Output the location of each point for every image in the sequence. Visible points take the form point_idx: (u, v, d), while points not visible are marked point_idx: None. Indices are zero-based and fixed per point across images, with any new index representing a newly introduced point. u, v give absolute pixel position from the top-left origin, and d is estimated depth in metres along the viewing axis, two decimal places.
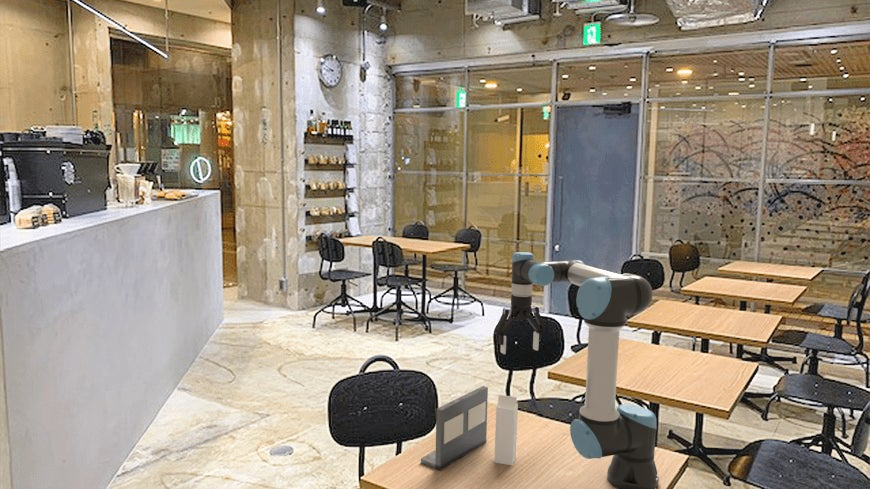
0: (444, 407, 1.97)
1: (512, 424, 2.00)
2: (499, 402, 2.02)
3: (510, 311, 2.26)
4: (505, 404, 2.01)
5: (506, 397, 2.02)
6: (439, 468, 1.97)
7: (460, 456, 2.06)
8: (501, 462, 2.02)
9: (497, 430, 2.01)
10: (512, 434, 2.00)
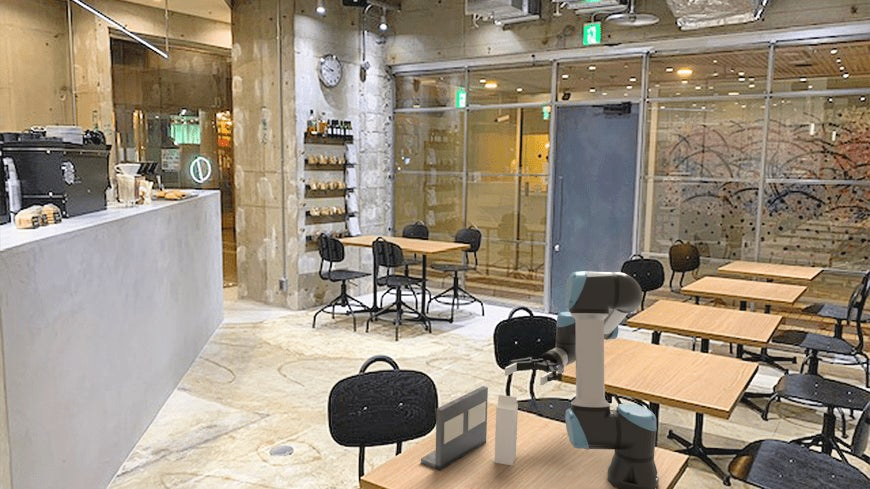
0: (444, 407, 1.97)
1: (512, 424, 2.00)
2: (499, 402, 2.02)
3: None
4: (505, 404, 2.01)
5: (506, 397, 2.02)
6: (439, 468, 1.97)
7: (460, 456, 2.06)
8: (501, 462, 2.02)
9: (497, 430, 2.01)
10: (512, 434, 2.00)
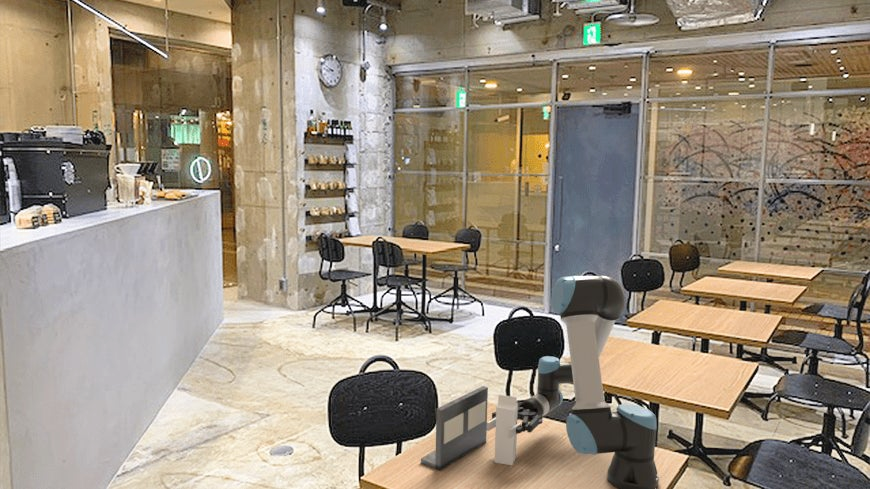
0: (444, 407, 1.97)
1: (512, 424, 2.00)
2: (499, 402, 2.02)
3: None
4: (505, 404, 2.01)
5: (506, 397, 2.02)
6: (439, 468, 1.97)
7: (460, 456, 2.06)
8: (501, 462, 2.02)
9: (497, 430, 2.01)
10: None
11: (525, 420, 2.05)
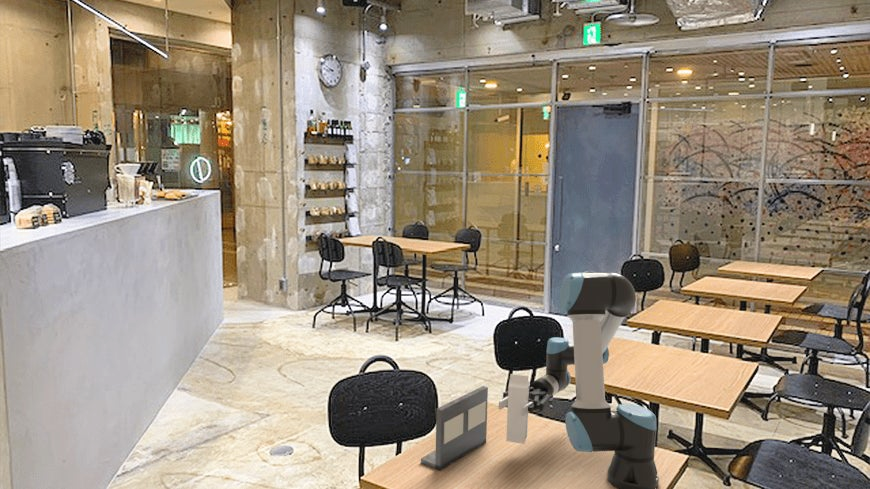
0: (444, 407, 1.97)
1: (524, 402, 2.02)
2: (511, 381, 2.04)
3: None
4: (517, 383, 2.03)
5: (518, 376, 2.04)
6: (439, 468, 1.97)
7: (460, 456, 2.06)
8: (513, 440, 2.05)
9: (509, 409, 2.04)
10: None
11: (536, 399, 2.07)
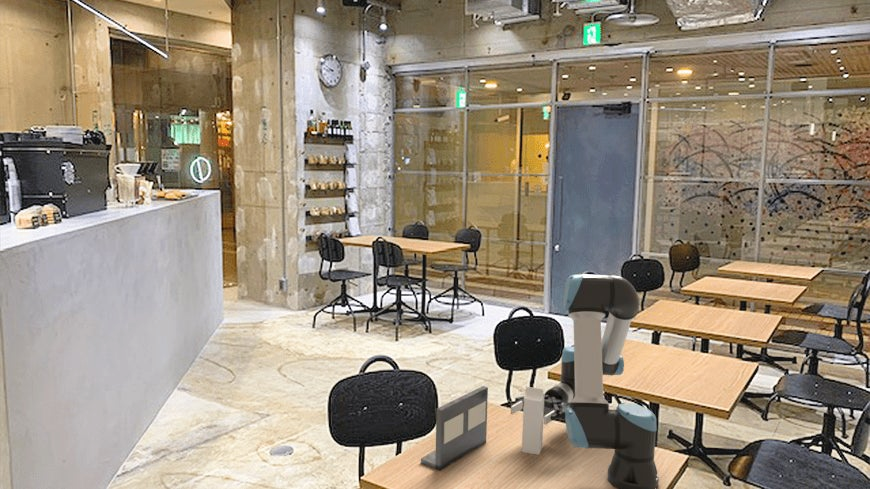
0: (444, 407, 1.97)
1: (539, 415, 2.07)
2: (526, 394, 2.10)
3: None
4: (532, 396, 2.09)
5: (533, 389, 2.10)
6: (439, 468, 1.97)
7: (460, 456, 2.06)
8: (528, 451, 2.10)
9: (524, 420, 2.09)
10: (539, 424, 2.08)
11: (557, 407, 2.12)
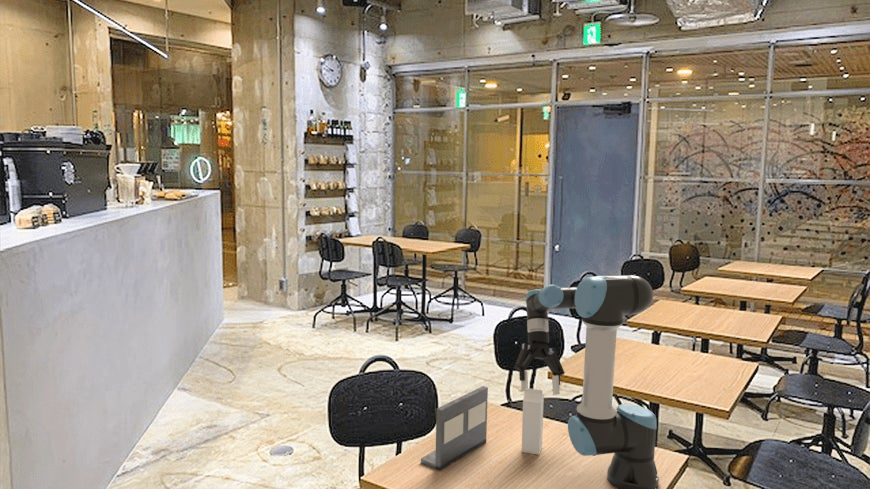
0: (444, 407, 1.97)
1: (538, 416, 2.06)
2: (525, 395, 2.08)
3: (529, 346, 2.20)
4: (531, 397, 2.07)
5: (532, 390, 2.08)
6: (439, 468, 1.97)
7: (460, 456, 2.06)
8: (528, 451, 2.10)
9: (524, 422, 2.08)
10: (539, 425, 2.07)
11: (555, 367, 2.22)
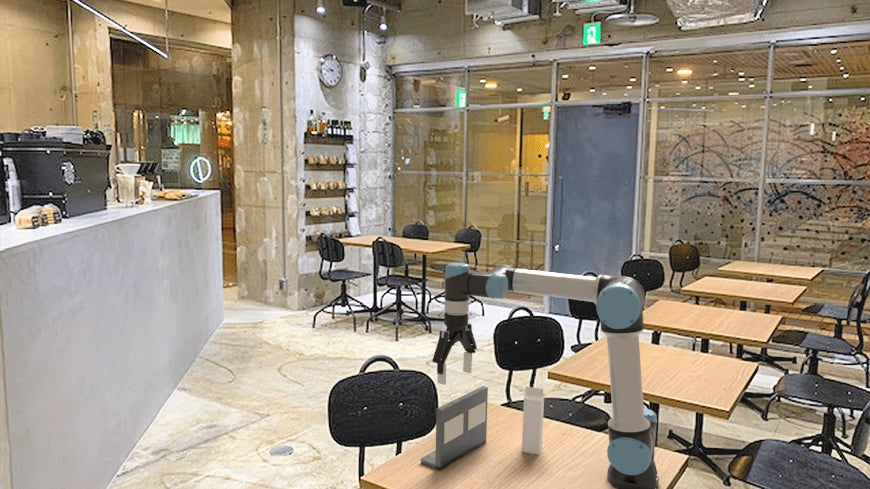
0: (444, 407, 1.97)
1: (539, 415, 2.07)
2: (526, 393, 2.10)
3: (448, 333, 1.93)
4: (532, 396, 2.09)
5: (533, 389, 2.10)
6: (439, 468, 1.97)
7: (460, 456, 2.06)
8: (528, 451, 2.10)
9: (524, 420, 2.09)
10: (539, 424, 2.08)
11: (469, 345, 2.01)
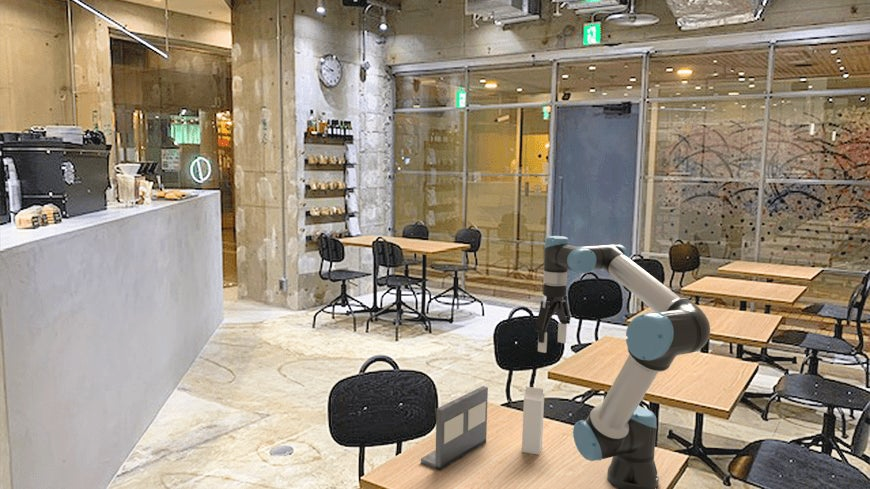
0: (444, 407, 1.97)
1: (539, 415, 2.07)
2: (526, 393, 2.10)
3: (548, 303, 2.00)
4: (532, 396, 2.09)
5: (533, 389, 2.10)
6: (439, 468, 1.97)
7: (460, 456, 2.06)
8: (528, 451, 2.10)
9: (524, 420, 2.09)
10: (539, 424, 2.08)
11: (565, 316, 2.09)
